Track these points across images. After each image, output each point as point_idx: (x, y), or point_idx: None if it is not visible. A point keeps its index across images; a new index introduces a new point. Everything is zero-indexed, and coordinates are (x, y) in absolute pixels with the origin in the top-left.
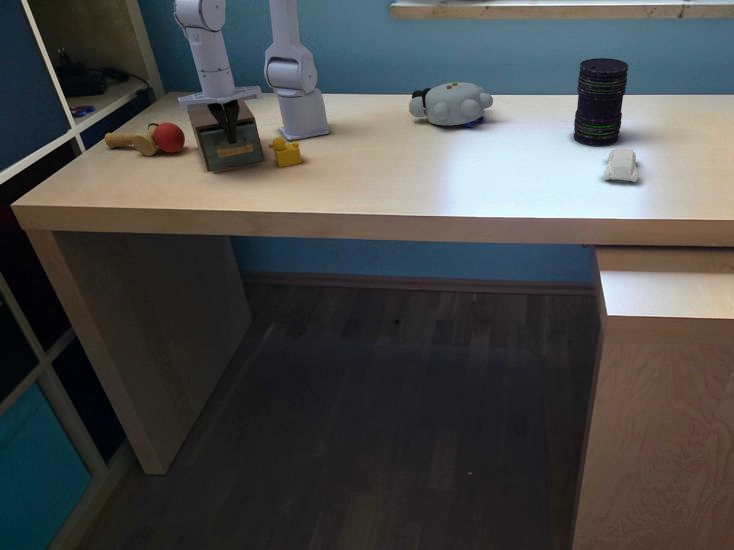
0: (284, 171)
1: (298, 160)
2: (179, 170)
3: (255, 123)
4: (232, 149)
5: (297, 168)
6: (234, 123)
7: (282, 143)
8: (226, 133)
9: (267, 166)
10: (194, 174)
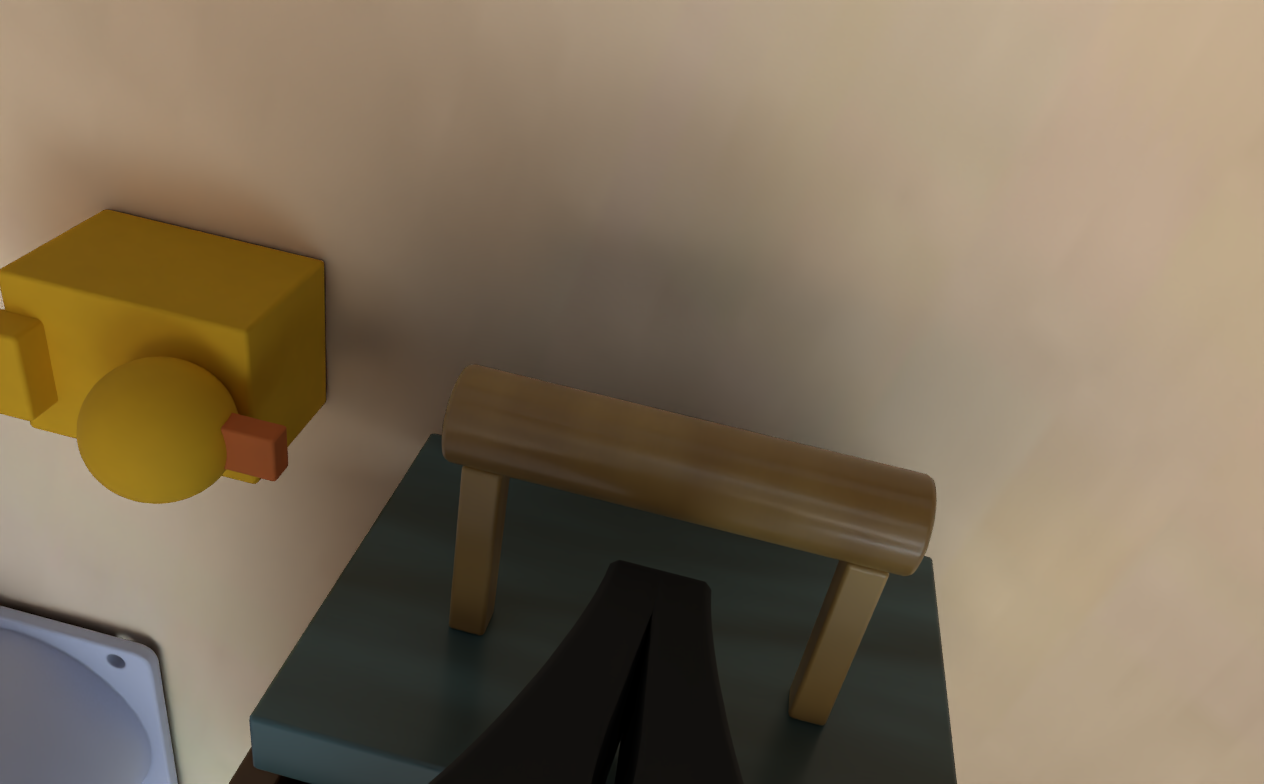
0: (306, 134)
1: (115, 226)
2: (1096, 763)
3: (239, 780)
4: (727, 472)
5: (168, 113)
6: (502, 764)
7: (111, 383)
8: (705, 695)
9: (427, 356)
10: (1050, 632)
